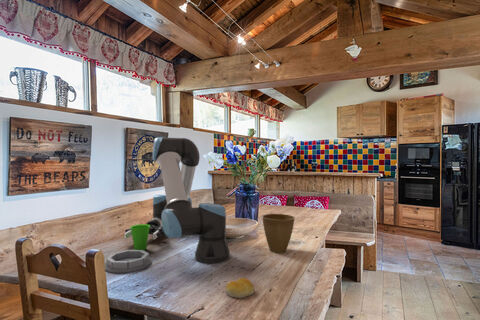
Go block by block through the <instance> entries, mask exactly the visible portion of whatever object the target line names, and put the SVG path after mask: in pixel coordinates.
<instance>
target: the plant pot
mask: <svg viewBox="0 0 480 320" xmlns="http://www.w3.org/2000/svg"><path fill="white" fill-rule="evenodd" d="M295 220H296V219H295V216H293V215H290V214H284V213H283V214H282V213H269V214H264V215H262V224H263V229H264V233H265V234H264V235H265V239H266V244H267V245H268V248H269V251H270V252H272V253H275V254H284V253H286V251H287V249H288V246H289V243H290V241H291V237H292V233H293V230H294V225H295V224H294V223H295Z"/></svg>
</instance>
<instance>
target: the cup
mask: <svg viewBox="0 0 480 320" xmlns="http://www.w3.org/2000/svg"><path fill="white" fill-rule="evenodd" d="M130 228H131V231H132V236H131V237H132V243H133V248H134V249H133V250H143V251H146V250H147V248H148V247H147V246H148V239H149V235H150V234H149V228H150V225H147V224H143V223H142V224H141V223H140V224H134V225H131V226H130ZM130 228H129V229H130Z"/></svg>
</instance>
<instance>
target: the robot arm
mask: <svg viewBox="0 0 480 320" xmlns="http://www.w3.org/2000/svg"><path fill="white" fill-rule="evenodd" d="M152 147H153V148H152V161H155V162H156V165H158V166H159V167H160V168H161V175H162V180H163V186H164V194H155V195H153V197H152V198H153V199H152V219H150V220H149V221H147V222H146V224H147V225H150V228H149V234H148V235H151V236H152V240H156V239H157V238H158V237H160V236H166V237H167V238H169V239H180V238H186V237H193V236H195V237H196V236H198V243H197V246H196V248H195V252H194V259H195V261H197V262H200V263H205V264H218V263H222V262H223V263H224V262H226V261H227V260H229V259H230V257H231V252H230V248H229V245H228V242H227V234H226V233H227V213H226V207H225V206H223V205H222V204H219V203H218V204H216V203H211V202H210V203H209V202H201V203H199V204H198V206H197V207H193V205H192V204H193V200H192V198H191V196H190V195H191V191H192V186H193V181H194V178H195V177H194V176H195V172H196V169H197V166H199V163H200V158H201V157H200V152H199V149H198V147H197V145H196V144H195V142H193V140H191V139H189V138H185V137H164V136H161V137H156V138H154V140H153V145H152ZM180 163H181V167H180ZM124 230H125V231H124V235H123V236H124V240H127V239H129V238H130V237H132V231H131V228H128V229H124Z"/></svg>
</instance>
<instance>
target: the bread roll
mask: <svg viewBox="0 0 480 320" xmlns="http://www.w3.org/2000/svg"><path fill="white" fill-rule="evenodd" d="M225 292H226V295H228V296H229V297H231V298H236V299H243V298H247V297H249V296H252V295H253V294H254V293H255V287H254V284H253V283H252V281H251V280H249V279H248V278H246V277H245V278H244V277H240V278H238V279H237V280H231V281H228V283H227V284H226V286H225Z"/></svg>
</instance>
